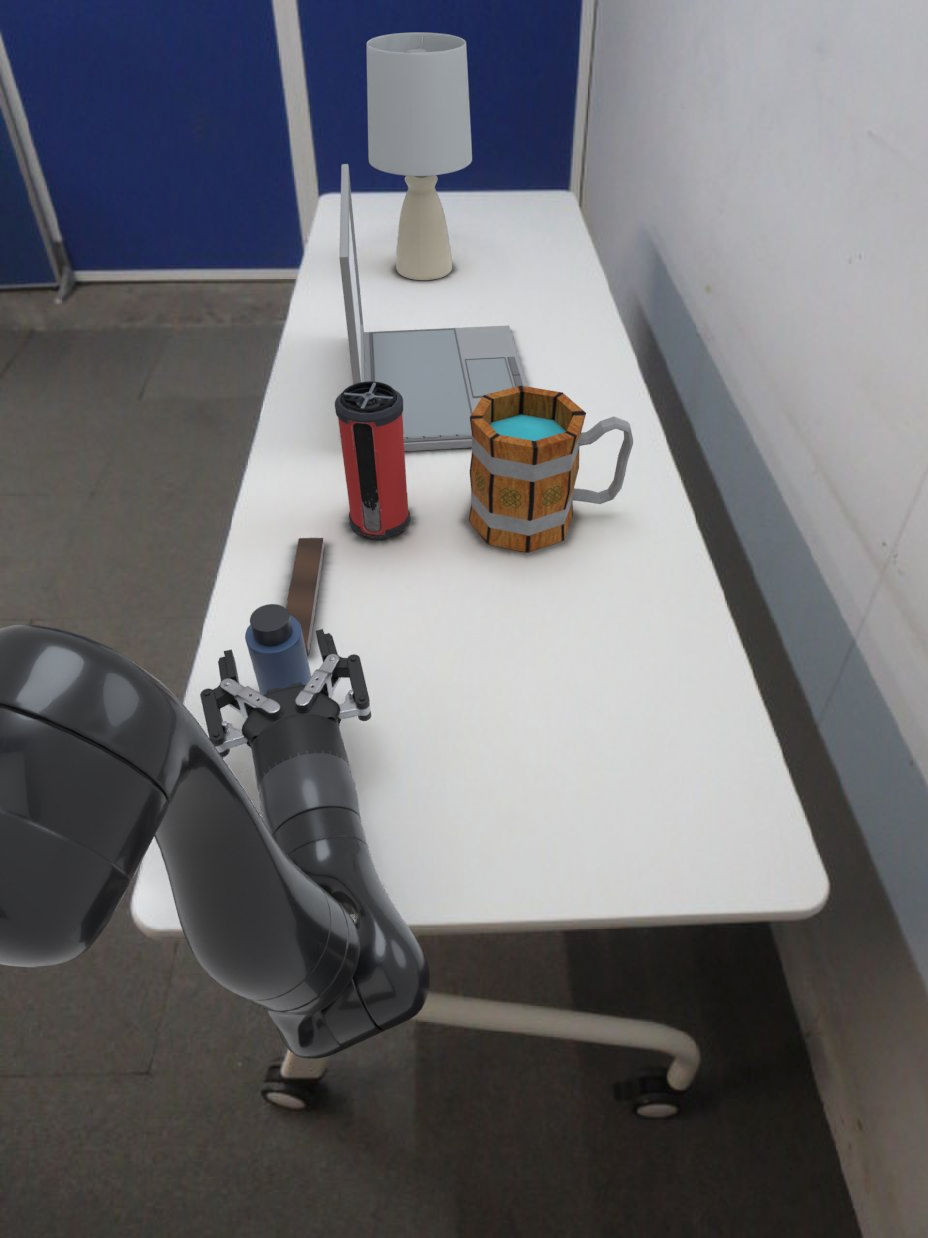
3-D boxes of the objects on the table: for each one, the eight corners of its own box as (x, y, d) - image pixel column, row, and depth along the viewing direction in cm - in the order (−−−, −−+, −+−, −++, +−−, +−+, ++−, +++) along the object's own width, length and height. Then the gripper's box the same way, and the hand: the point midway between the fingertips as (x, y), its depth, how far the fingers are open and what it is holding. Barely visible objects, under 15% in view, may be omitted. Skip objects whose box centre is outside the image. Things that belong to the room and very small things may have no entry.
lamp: (475, 252, 164) (477, 31, 138) (467, 290, 151) (467, 55, 125) (385, 249, 165) (370, 29, 139) (369, 287, 152) (349, 53, 126)
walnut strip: (309, 655, 86) (307, 645, 85) (281, 655, 86) (278, 646, 85) (324, 546, 99) (323, 537, 98) (300, 547, 99) (298, 537, 98)
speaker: (342, 537, 100) (325, 409, 87) (359, 500, 105) (344, 374, 93) (403, 543, 99) (394, 415, 86) (416, 506, 105) (409, 380, 92)
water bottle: (294, 727, 79) (274, 645, 71) (253, 707, 81) (228, 625, 73) (325, 692, 83) (309, 609, 74) (285, 673, 84) (265, 590, 76)
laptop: (542, 444, 115) (558, 248, 95) (359, 454, 113) (337, 257, 94) (508, 332, 139) (516, 158, 120) (357, 339, 137) (340, 164, 118)
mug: (472, 555, 98) (474, 450, 87) (464, 489, 107) (464, 387, 96) (631, 547, 99) (652, 443, 88) (609, 483, 108) (625, 381, 98)
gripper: (388, 735, 64) (345, 600, 75) (206, 783, 61) (188, 635, 71) (394, 787, 69) (352, 654, 80) (226, 833, 66) (207, 689, 77)
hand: (275, 645), depth 76 cm, fingers open, 8 cm apart
